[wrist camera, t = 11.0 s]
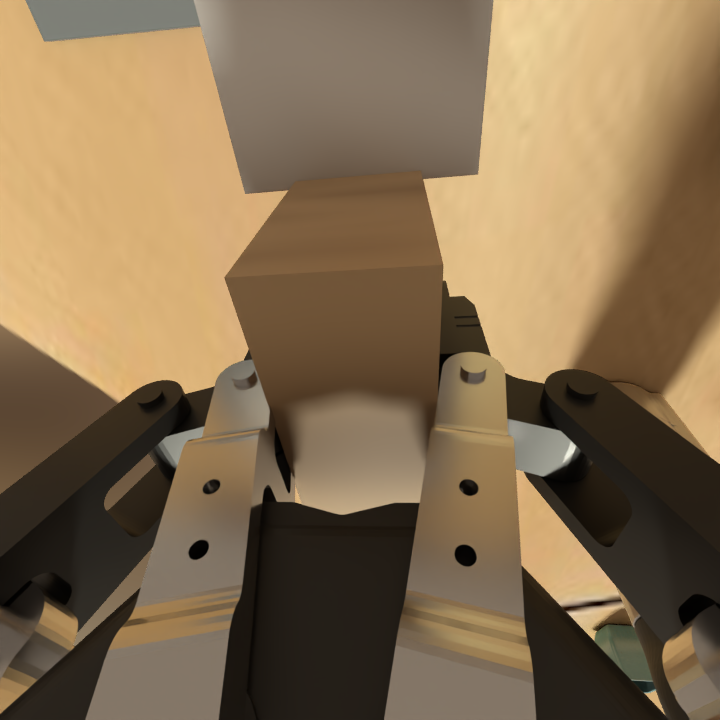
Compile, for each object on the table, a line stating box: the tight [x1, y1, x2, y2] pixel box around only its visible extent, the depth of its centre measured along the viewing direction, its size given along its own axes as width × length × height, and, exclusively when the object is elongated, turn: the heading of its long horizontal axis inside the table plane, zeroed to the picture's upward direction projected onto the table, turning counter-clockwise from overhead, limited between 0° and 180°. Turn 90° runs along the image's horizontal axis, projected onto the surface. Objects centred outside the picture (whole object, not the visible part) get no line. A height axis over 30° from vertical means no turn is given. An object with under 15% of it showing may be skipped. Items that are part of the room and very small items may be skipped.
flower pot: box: [594, 624, 656, 693], centre depth 72 cm, size 9×9×9 cm
